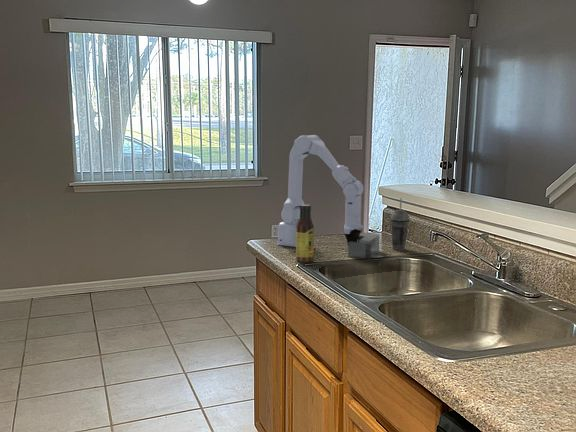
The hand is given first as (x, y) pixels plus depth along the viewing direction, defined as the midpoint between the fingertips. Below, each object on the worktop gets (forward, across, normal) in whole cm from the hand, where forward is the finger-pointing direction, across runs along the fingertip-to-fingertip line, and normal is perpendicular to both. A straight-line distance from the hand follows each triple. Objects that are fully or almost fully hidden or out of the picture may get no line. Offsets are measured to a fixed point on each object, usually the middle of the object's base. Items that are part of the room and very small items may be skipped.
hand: (352, 249), depth 209 cm
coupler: (+1, 0, -5) cm, 5 cm away
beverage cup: (+1, +13, -15) cm, 20 cm away
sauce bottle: (+1, -19, +11) cm, 22 cm away
